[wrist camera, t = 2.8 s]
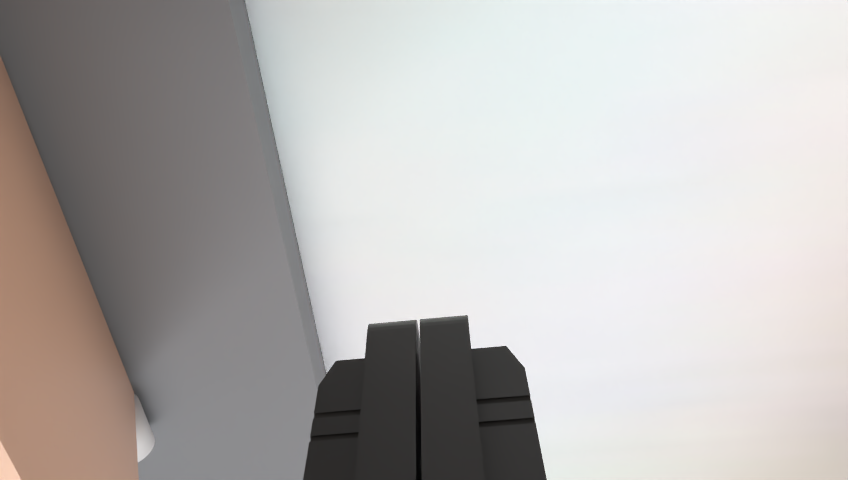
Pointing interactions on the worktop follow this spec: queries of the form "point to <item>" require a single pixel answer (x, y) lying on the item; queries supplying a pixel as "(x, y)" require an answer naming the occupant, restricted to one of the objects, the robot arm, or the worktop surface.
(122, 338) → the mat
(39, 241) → the tile
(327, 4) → the worktop surface
